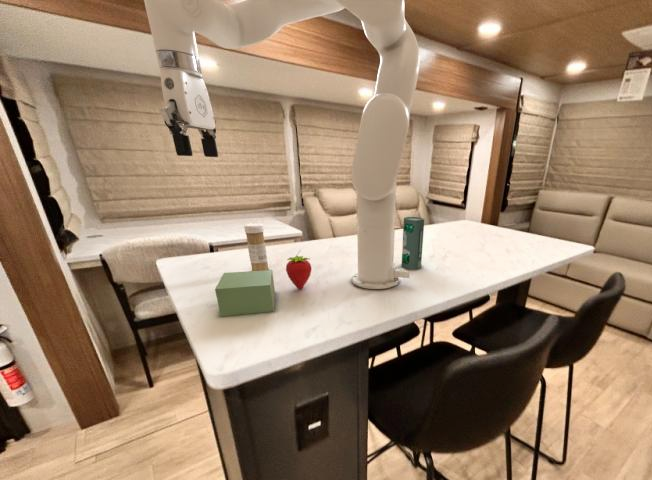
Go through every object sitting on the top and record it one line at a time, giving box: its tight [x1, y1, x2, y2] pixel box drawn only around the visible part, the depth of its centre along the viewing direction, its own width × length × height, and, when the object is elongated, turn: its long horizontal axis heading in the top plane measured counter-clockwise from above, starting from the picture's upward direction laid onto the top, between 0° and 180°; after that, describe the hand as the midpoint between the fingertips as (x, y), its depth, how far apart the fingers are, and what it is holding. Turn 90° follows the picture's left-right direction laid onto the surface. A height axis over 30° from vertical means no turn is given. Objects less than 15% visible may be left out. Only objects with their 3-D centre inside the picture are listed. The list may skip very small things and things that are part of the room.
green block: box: [214, 269, 276, 317], centre depth 67 cm, size 10×10×6 cm
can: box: [401, 216, 425, 271], centre depth 95 cm, size 6×6×15 cm
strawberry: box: [285, 250, 312, 290], centre depth 75 cm, size 6×8×10 cm
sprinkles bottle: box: [243, 222, 270, 271], centre depth 85 cm, size 5×5×14 cm
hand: (199, 156), depth 72 cm, fingers open, 9 cm apart
